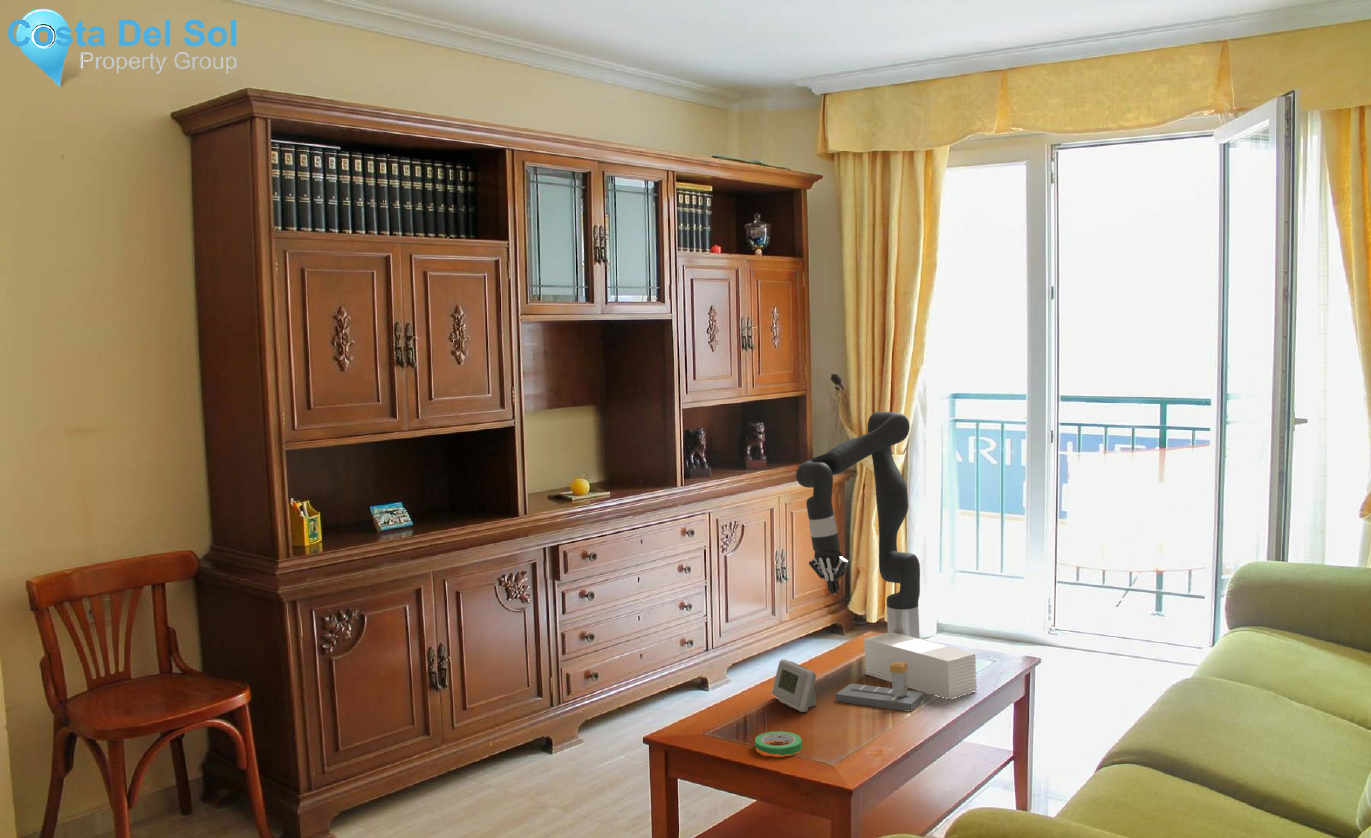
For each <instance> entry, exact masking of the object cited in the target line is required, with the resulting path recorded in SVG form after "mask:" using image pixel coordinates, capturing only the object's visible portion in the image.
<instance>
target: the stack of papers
mask: <svg viewBox="0 0 1371 838" xmlns="http://www.w3.org/2000/svg"><path fill="white" fill-rule="evenodd" d="M863 641H864V643H863V644H864V658H865V659H864V661H865V663H864V664H865V667H864V668H865V675H867V676H871V677H873V678H874V677H875V678H877V679H881V680H884V681H886V682H890V683H892V673H891V672H890V665H891V664H892V663H893V662H902V663H908V670H907V671H906V673H907V688H909V689H913V690H915V691H917V692H921V691H922V692H923V693H924V692H926V693H925V694H929V695H931V694H933V695H932V696H934V695H937V696H939V697H938V698H940V697H944V698H947V699H952V698H954V697H958V698H960V697H959V696H961V695H964V694H968V693H970V692H972V691H977V692H978V689H977V687H978V686H977V664H976V663H977V661H976V653H975V652H971V651H967V650H963V649H960V648H956V647H953V646H952V647H951V646H947V645H944V644H942V643H937V642H933V641H929V640H925V639H921V638H920V639H918V638H914V637H910V636H906V635H902V634H898V633H894V632H888V631H887V632H884V633H880V634H876V635H872V636H868V637H864V639H863ZM968 695H969V694H968ZM937 696H936V697H937ZM944 698H943V699H944ZM947 699H946V700H947ZM952 700H953V699H952Z"/></svg>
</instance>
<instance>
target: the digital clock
mask: <svg viewBox="0 0 1371 838" xmlns="http://www.w3.org/2000/svg"><path fill="white" fill-rule="evenodd" d="M816 678H817V674H816V673H815V671H813V670H810V669H809V668H808V667H805V666H803V665H801V664H798V663H796V662H793V661H792V660H791V661H789V660H787V659H785V658H784V659H781V660H780V661H779V662H778V666H777V670H776V674H775V678H774V682H773V686H772V689H771V694H773V695H775V696H776V697H777V698H778V699H779V700H781V701H782V702H783V703H785V704H787V705H789V706H791V707H793V708H795V709H796V710H798V711H797V712H800V713H802V712H803V713H804V712H805V713H807V711H809V708H808V707H811V708H813V707H812V706H815V707H816V706H817V697H816V696H817V695H816V694H817V693H816V692H817V691H816V689H815V688H814V687H815V684H816ZM796 710H795V711H796Z"/></svg>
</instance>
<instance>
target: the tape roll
mask: <svg viewBox="0 0 1371 838" xmlns="http://www.w3.org/2000/svg"><path fill="white" fill-rule="evenodd" d="M769 741H783V742H789V743H790V744H780V745H776V744H775V745H774V744H765V743H764V742H769ZM802 744H803V741H802V738H801V737H800V735H798V734H796V733H793V732H789V731H780V730H779V731H778V730H777V731H768V732H763V733H761V734H759V735H757V736H756V737H755V739H754V747H755V746H756V748H758V749H759V750H761V751H763V752H767V753H770V754H771V753H773V754H780V755H785V754H787V755H788V754H793V753H796V752H799V751H800V750H801V749H802V750H803V745H802ZM802 750H801V751H802ZM799 753H800V752H799Z"/></svg>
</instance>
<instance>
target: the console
mask: <svg viewBox="0 0 1371 838" xmlns="http://www.w3.org/2000/svg"><path fill="white" fill-rule="evenodd" d="M925 699H926V698H925V693H924V692H921V691H916V690H915V691H913V690H907V695H905V696H904V697H898V696H892V687H891V688H890V687H881V686H874V685H867V684H858V683H849V684H848V685H846V686H845V687H844V688H842V689H841V690H839V691H838V692H837V693H835V702H838V703H846V704H852V705H853V704H854V705H861V706H869V707H876V708H881V707H882V709H891V710H898V711H903V710H907V711H906V712H911V711H912V710H913V709H914V708H915V707H916V708H917V707H919V705H921V704H922V703H923V702H924V701H925ZM923 700H924V701H923ZM922 701H923V702H922ZM920 703H921V704H920ZM916 708H915V709H916ZM915 709H914V710H915ZM908 710H909V711H908ZM914 710H913V711H914ZM913 711H912V712H913Z"/></svg>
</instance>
